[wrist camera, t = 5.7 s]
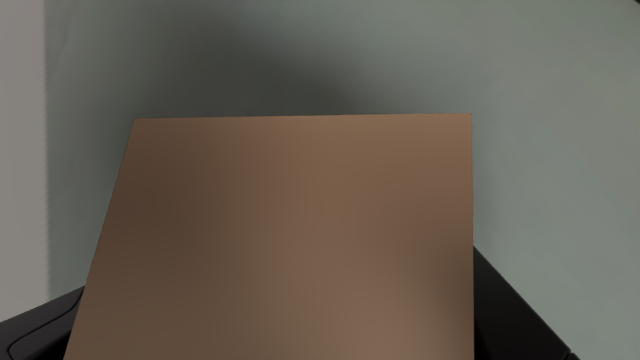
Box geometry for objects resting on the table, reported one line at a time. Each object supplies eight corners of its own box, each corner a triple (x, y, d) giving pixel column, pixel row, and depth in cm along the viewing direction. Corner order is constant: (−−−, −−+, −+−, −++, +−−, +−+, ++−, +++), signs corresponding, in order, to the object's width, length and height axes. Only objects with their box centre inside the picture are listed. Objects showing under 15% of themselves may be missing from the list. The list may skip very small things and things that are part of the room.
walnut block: (431, 387, 13) (476, 658, 3) (298, 364, 14) (22, 496, 4) (434, 247, 15) (471, 113, 4) (314, 237, 16) (134, 118, 6)
